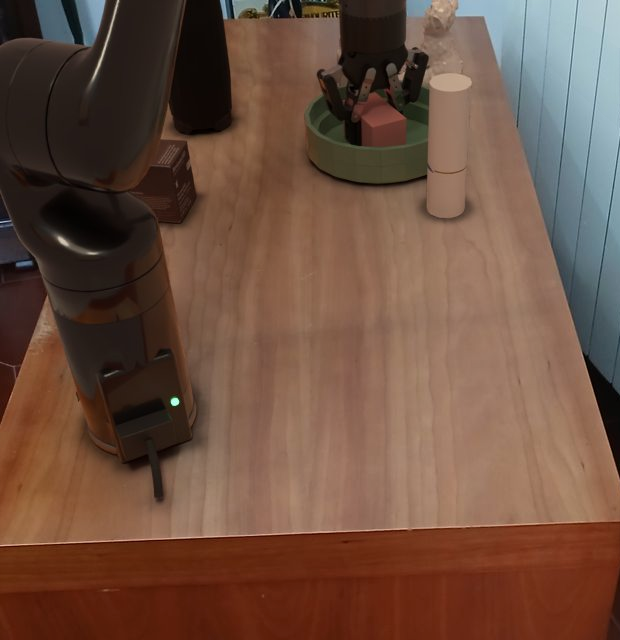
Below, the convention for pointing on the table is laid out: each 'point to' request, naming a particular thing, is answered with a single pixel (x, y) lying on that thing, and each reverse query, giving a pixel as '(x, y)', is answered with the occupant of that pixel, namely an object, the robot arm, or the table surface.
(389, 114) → the eraser
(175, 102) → the portable speaker
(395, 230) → the table surface
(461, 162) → the tube
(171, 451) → the table surface
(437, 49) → the white creature statuette
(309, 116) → the bowl
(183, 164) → the box
